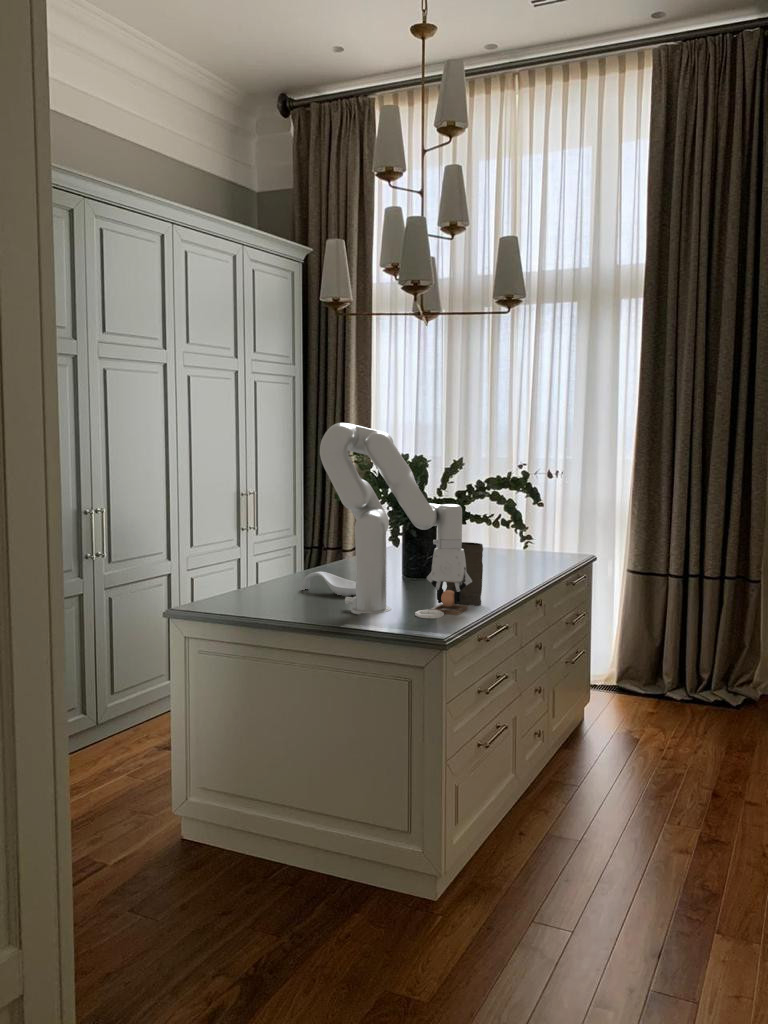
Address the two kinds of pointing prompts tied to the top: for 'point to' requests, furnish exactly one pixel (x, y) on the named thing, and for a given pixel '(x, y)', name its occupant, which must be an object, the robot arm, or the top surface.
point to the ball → (448, 598)
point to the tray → (457, 612)
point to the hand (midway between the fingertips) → (448, 602)
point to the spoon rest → (332, 583)
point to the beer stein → (471, 574)
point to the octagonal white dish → (429, 613)
